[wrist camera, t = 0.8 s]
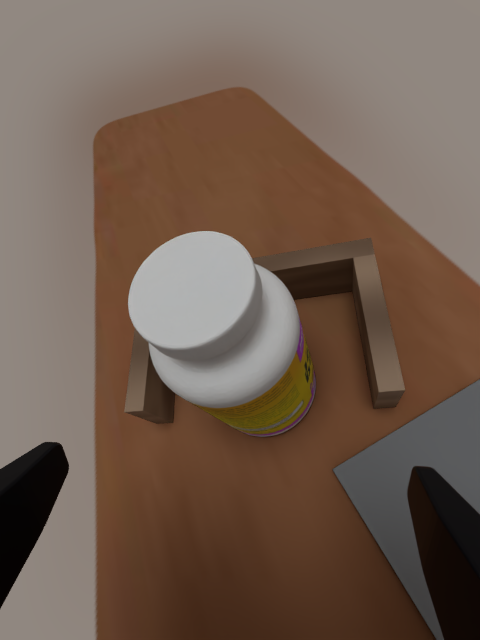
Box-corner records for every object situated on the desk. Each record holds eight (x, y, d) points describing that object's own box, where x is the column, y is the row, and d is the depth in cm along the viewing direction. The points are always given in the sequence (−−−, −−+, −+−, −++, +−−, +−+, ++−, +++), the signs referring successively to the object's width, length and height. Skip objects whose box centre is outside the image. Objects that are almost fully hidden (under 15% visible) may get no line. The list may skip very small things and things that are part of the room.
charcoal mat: (672, 571, 15) (682, 574, 14) (470, 694, 15) (473, 700, 15) (484, 377, 20) (487, 374, 19) (332, 469, 20) (332, 469, 20)
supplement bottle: (336, 411, 21) (323, 323, 10) (237, 455, 22) (120, 418, 11) (290, 322, 25) (241, 181, 13) (204, 362, 25) (89, 259, 14)
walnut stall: (395, 407, 20) (405, 389, 17) (156, 423, 24) (124, 412, 21) (367, 273, 25) (370, 237, 21) (166, 304, 28) (141, 277, 25)
